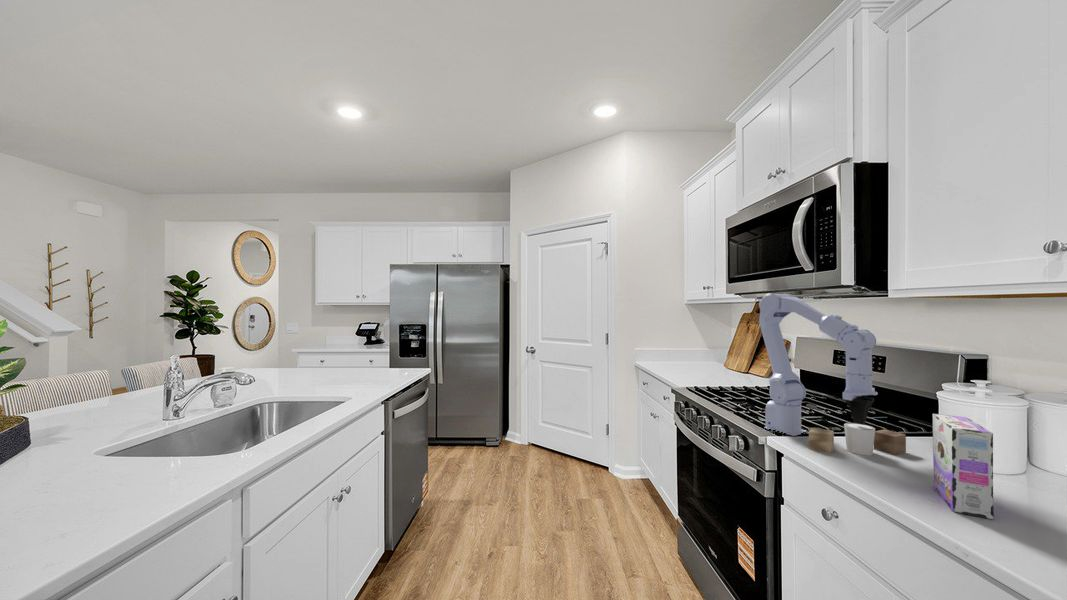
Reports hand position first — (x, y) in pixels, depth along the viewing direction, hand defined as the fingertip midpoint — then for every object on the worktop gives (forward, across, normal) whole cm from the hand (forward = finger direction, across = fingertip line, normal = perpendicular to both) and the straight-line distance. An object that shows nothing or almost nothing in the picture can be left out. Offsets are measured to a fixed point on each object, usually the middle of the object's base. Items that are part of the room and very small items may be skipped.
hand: (859, 423), depth 114 cm
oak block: (+8, -6, +7) cm, 12 cm away
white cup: (+8, 0, 0) cm, 8 cm away
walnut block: (+8, +8, -4) cm, 12 cm away
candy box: (+8, -17, -24) cm, 30 cm away
